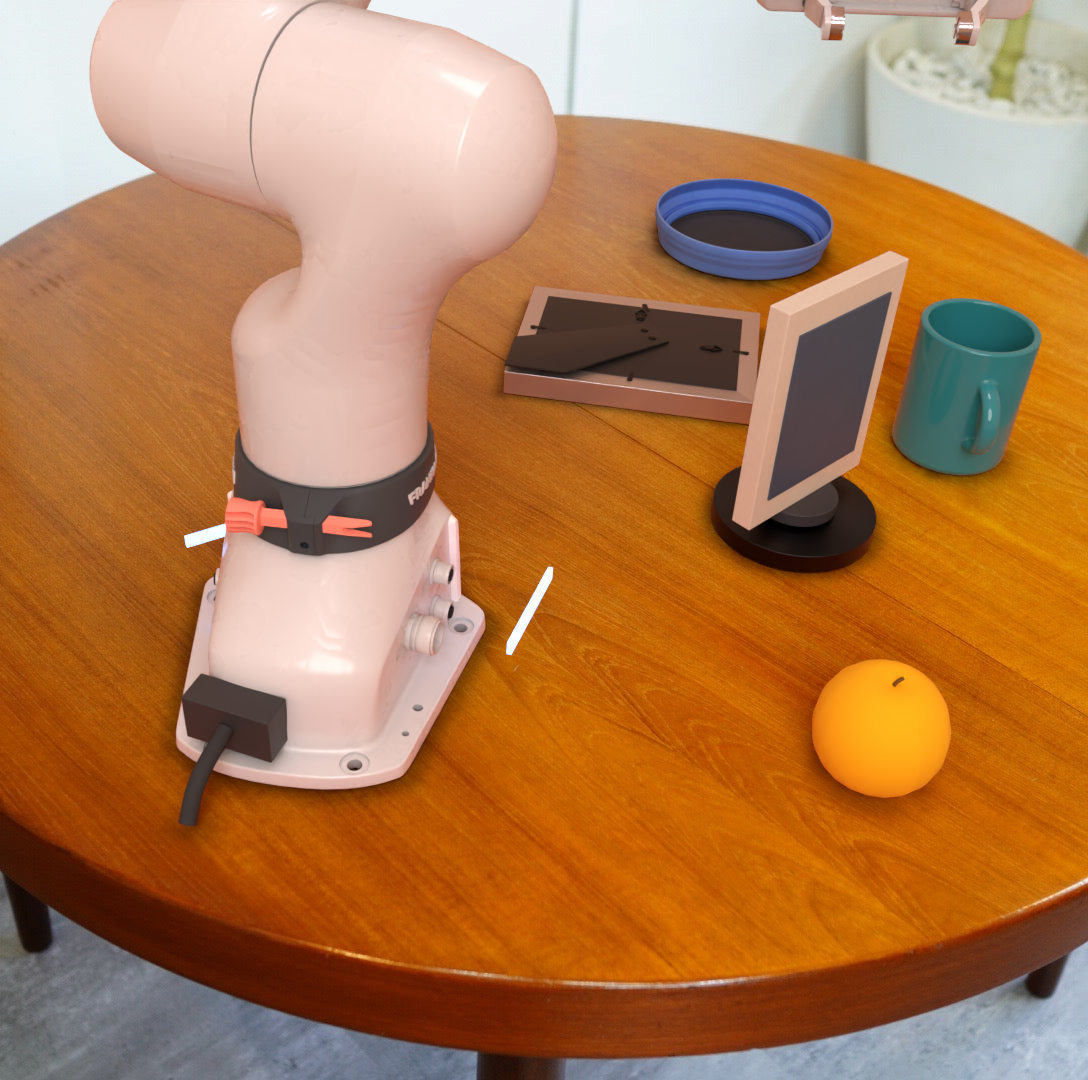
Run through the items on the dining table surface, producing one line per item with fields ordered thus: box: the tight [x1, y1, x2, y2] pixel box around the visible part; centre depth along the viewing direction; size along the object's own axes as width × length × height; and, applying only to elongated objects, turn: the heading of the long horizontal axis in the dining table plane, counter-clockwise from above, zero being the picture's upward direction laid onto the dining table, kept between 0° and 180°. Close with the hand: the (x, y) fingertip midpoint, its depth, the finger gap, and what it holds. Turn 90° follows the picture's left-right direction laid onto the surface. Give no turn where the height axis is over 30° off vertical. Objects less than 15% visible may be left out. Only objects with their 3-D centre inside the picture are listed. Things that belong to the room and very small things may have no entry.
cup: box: [891, 297, 1043, 476], centre depth 103 cm, size 9×12×11 cm
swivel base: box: [710, 465, 877, 574], centre depth 98 cm, size 12×12×2 cm
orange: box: [811, 658, 952, 799], centre depth 77 cm, size 8×8×8 cm
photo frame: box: [732, 250, 910, 530], centre depth 92 cm, size 6×13×18 cm, turn 133°
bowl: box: [654, 177, 834, 281], centre depth 134 cm, size 18×18×4 cm
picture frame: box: [503, 285, 761, 426], centre depth 115 cm, size 16×3×21 cm
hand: (900, 34), depth 94 cm, fingers open, 8 cm apart
